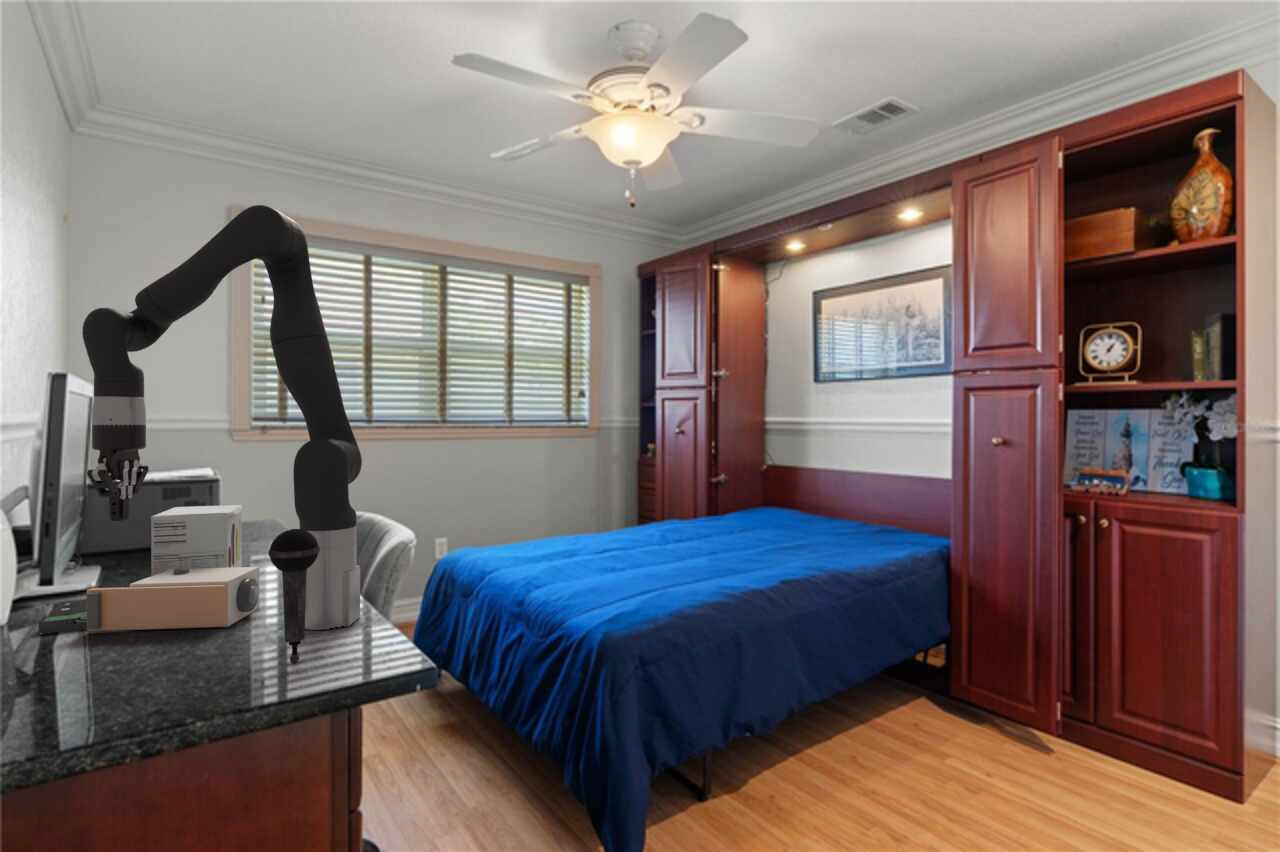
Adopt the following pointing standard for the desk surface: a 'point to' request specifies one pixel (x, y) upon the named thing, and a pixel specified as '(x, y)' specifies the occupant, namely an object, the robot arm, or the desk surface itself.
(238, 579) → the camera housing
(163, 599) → the door
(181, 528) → the supplement box
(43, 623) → the disk drive
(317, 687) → the desk surface
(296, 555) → the microphone
